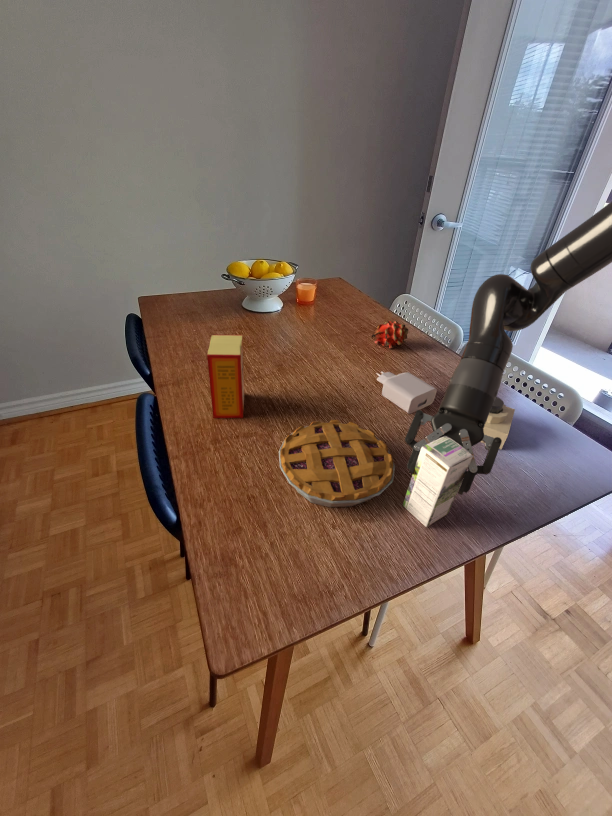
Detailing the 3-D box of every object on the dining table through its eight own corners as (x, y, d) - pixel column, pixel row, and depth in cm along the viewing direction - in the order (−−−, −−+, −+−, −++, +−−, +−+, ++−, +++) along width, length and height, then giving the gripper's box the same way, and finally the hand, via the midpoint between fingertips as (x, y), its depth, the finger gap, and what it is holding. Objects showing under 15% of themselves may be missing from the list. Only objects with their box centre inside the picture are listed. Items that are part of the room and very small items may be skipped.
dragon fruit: (407, 350, 124) (371, 357, 122) (399, 326, 126) (363, 333, 124) (417, 337, 116) (378, 345, 114) (408, 312, 118) (369, 319, 116)
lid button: (502, 407, 88) (505, 399, 87) (499, 416, 85) (502, 409, 84) (481, 400, 90) (484, 392, 89) (478, 409, 87) (480, 402, 85)
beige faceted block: (508, 423, 93) (518, 402, 89) (501, 449, 85) (511, 428, 81) (465, 409, 96) (472, 388, 93) (454, 432, 89) (462, 411, 85)
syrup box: (423, 493, 73) (444, 432, 65) (449, 515, 69) (474, 454, 61) (401, 506, 71) (420, 444, 62) (427, 529, 67) (450, 467, 58)
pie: (267, 441, 82) (267, 422, 79) (364, 428, 88) (368, 409, 85) (294, 526, 66) (295, 506, 63) (412, 503, 71) (418, 483, 68)
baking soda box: (217, 394, 95) (211, 332, 86) (244, 394, 96) (242, 333, 87) (213, 418, 88) (206, 353, 78) (243, 417, 88) (240, 354, 79)
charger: (389, 375, 107) (433, 403, 98) (364, 385, 103) (407, 415, 93) (393, 360, 104) (438, 387, 95) (367, 369, 100) (411, 398, 90)
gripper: (513, 411, 66) (478, 503, 65) (429, 384, 72) (395, 468, 70) (521, 400, 60) (482, 502, 58) (428, 371, 65) (390, 464, 64)
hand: (434, 483), depth 64 cm, fingers closed on syrup box, 7 cm apart
